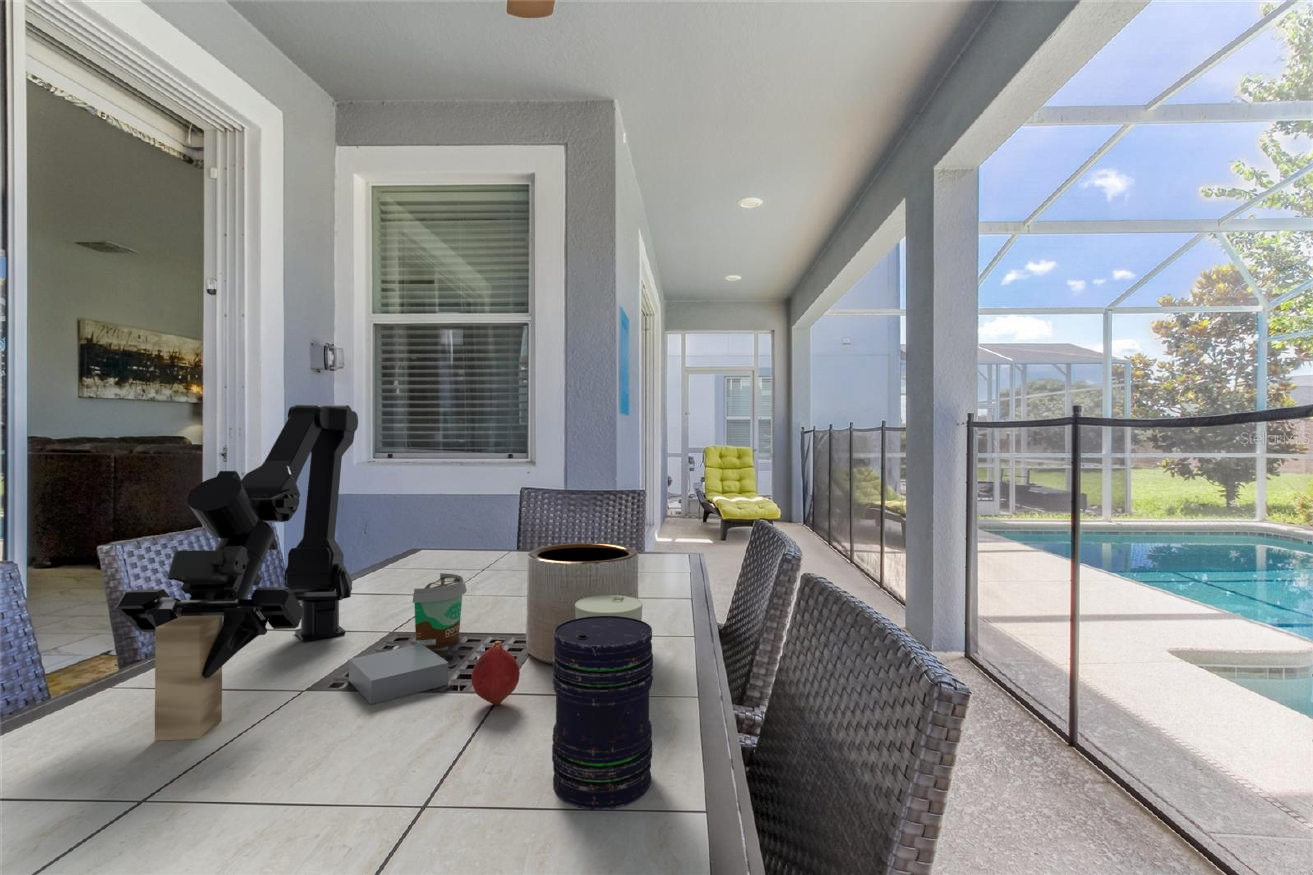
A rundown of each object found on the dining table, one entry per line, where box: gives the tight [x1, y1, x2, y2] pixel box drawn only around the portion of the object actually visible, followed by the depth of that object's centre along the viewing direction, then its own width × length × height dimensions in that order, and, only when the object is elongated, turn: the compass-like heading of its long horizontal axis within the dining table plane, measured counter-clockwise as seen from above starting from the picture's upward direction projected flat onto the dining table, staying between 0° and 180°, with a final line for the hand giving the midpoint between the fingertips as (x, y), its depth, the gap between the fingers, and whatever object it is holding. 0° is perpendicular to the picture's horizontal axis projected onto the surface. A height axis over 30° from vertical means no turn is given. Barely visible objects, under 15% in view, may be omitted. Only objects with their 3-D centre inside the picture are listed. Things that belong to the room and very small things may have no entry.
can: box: [575, 595, 644, 621], centre depth 85 cm, size 9×9×12 cm
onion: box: [470, 640, 521, 706], centre depth 79 cm, size 6×6×8 cm
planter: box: [525, 542, 639, 666], centre depth 100 cm, size 18×18×16 cm
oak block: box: [154, 615, 224, 741], centre depth 72 cm, size 4×4×12 cm
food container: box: [412, 572, 467, 651], centre depth 104 cm, size 12×6×10 cm, turn 179°
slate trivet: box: [348, 644, 450, 705], centre depth 86 cm, size 10×10×3 cm
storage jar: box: [551, 616, 654, 811], centre depth 62 cm, size 10×10×15 cm
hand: (181, 677), depth 71 cm, fingers closed on oak block, 4 cm apart
